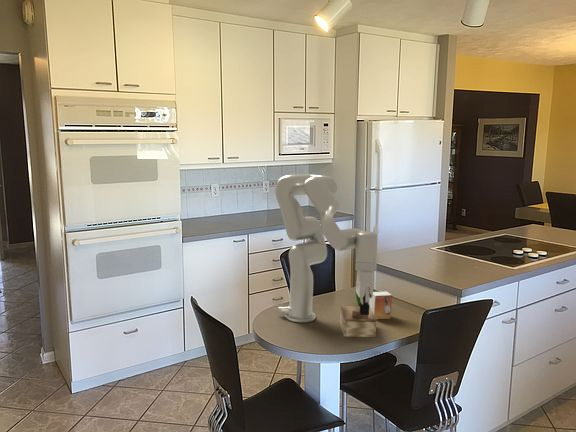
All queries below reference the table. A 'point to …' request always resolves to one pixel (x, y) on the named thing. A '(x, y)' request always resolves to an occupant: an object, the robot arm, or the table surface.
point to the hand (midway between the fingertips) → (364, 314)
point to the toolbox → (357, 328)
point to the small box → (381, 305)
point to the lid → (356, 314)
